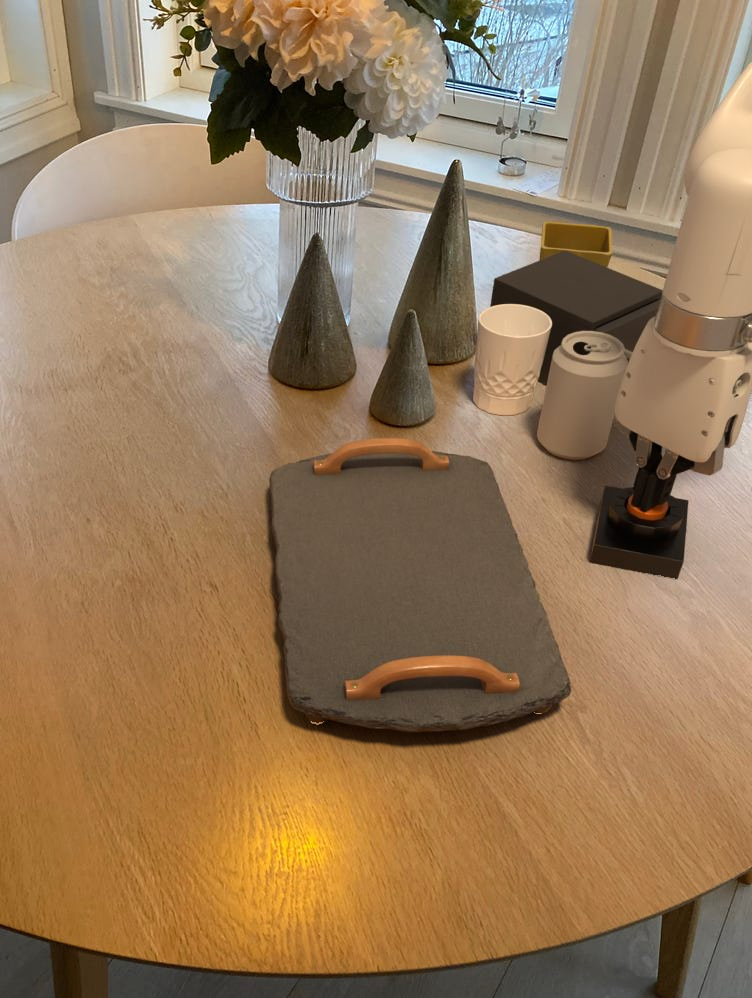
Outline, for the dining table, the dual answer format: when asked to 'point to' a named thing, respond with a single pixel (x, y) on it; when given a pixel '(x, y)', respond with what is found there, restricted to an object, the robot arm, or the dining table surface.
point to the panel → (639, 536)
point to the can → (581, 394)
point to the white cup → (509, 357)
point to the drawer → (630, 326)
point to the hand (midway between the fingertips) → (647, 502)
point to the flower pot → (577, 241)
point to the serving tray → (407, 592)
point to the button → (652, 514)
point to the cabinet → (572, 296)
